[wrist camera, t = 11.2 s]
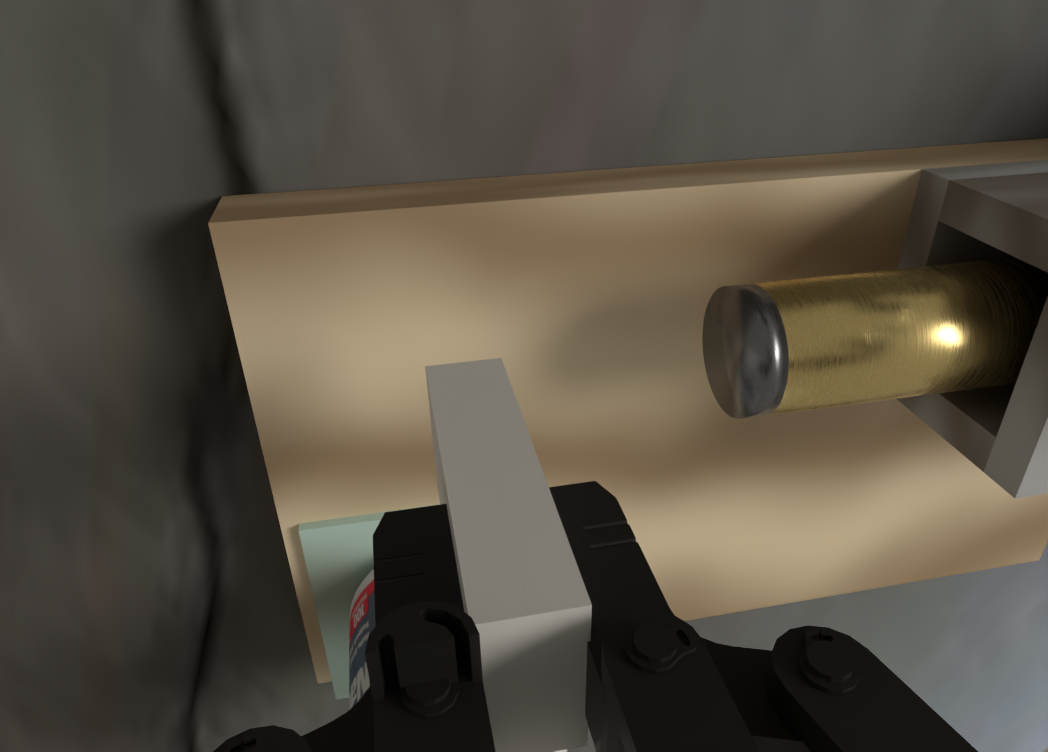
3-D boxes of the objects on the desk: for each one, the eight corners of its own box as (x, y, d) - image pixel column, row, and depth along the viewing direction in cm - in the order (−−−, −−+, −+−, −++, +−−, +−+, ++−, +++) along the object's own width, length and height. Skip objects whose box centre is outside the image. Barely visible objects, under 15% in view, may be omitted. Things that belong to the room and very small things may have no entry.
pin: (710, 266, 17) (770, 320, 15) (1012, 237, 19) (1116, 284, 16) (697, 377, 19) (750, 445, 16) (978, 344, 20) (1068, 401, 18)
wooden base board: (222, 196, 18) (144, 340, 11) (1155, 130, 22) (1493, 209, 15) (322, 643, 25) (311, 882, 19) (995, 534, 30) (1175, 699, 23)
